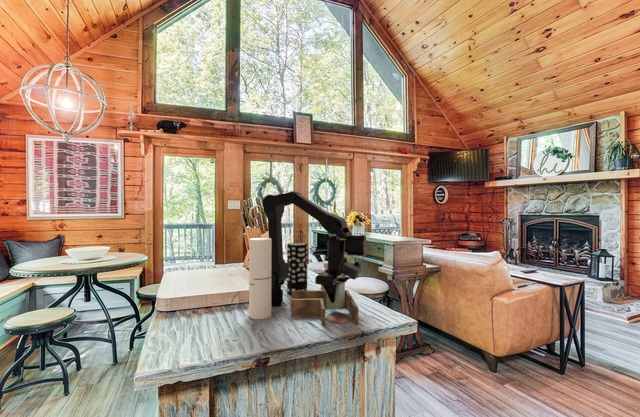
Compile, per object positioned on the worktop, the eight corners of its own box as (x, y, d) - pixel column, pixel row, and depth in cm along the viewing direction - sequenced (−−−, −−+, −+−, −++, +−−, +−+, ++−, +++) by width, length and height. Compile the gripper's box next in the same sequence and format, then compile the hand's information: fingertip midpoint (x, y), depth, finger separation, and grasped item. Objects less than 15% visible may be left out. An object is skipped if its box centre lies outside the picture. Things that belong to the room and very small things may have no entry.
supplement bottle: (318, 292, 130) (318, 261, 130) (332, 290, 133) (333, 260, 133) (325, 296, 124) (325, 264, 124) (340, 294, 127) (340, 262, 127)
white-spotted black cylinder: (283, 294, 127) (284, 244, 127) (291, 289, 135) (291, 242, 135) (303, 296, 125) (303, 245, 124) (310, 290, 132) (310, 243, 132)
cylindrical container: (266, 319, 99) (266, 240, 98) (245, 318, 100) (245, 239, 100) (274, 312, 106) (274, 238, 105) (254, 310, 107) (254, 237, 107)
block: (339, 309, 103) (339, 285, 103) (326, 307, 105) (326, 283, 105) (344, 305, 107) (344, 282, 107) (332, 303, 109) (332, 280, 109)
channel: (290, 326, 94) (290, 309, 94) (291, 304, 114) (291, 290, 114) (358, 324, 95) (358, 308, 95) (347, 303, 116) (347, 289, 115)
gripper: (347, 260, 94) (347, 312, 94) (368, 252, 110) (367, 296, 110) (314, 257, 99) (314, 306, 99) (339, 250, 115) (338, 292, 116)
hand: (335, 300), depth 106 cm, fingers closed on block, 4 cm apart
